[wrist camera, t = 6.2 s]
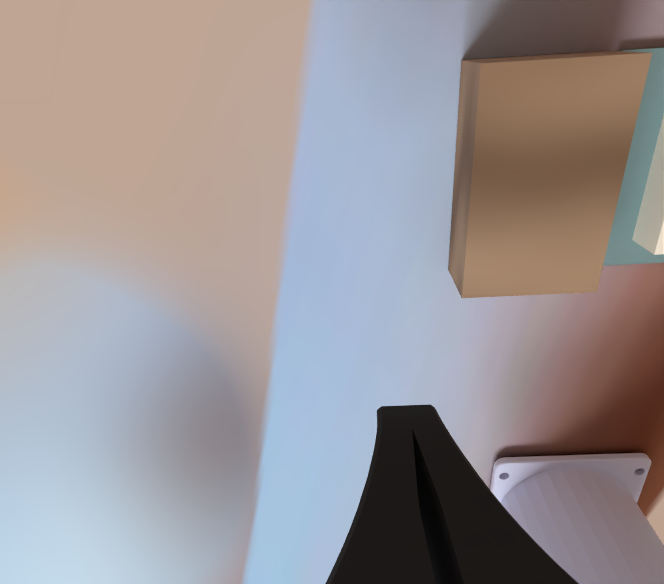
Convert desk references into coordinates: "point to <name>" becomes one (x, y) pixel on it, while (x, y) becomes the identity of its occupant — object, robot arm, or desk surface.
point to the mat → (638, 169)
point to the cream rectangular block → (653, 204)
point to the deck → (540, 169)
